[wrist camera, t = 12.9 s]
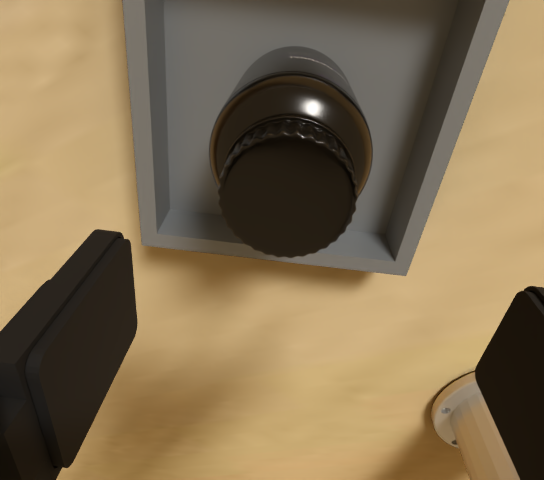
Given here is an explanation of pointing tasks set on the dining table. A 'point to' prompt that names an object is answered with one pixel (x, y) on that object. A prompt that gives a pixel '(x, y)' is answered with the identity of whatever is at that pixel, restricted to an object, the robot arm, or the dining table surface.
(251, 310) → the dining table surface
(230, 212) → the supplement bottle
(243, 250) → the tray
